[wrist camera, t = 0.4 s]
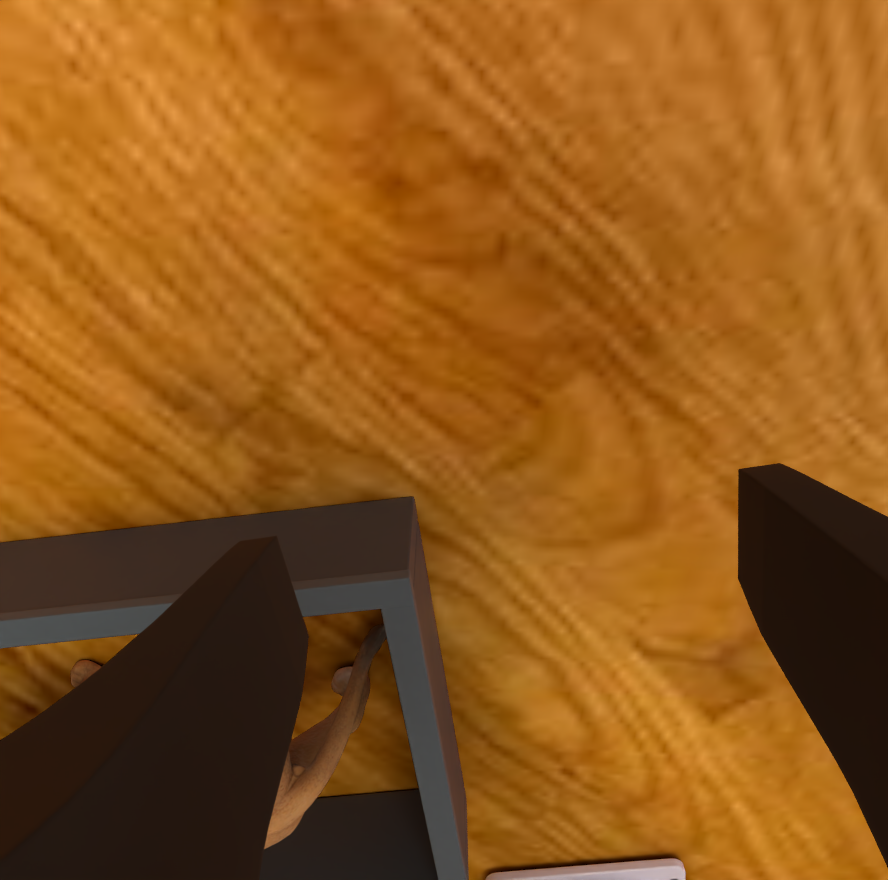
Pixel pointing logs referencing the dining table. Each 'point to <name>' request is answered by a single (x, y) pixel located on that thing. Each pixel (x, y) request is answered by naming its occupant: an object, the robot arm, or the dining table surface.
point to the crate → (318, 593)
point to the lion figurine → (308, 738)
